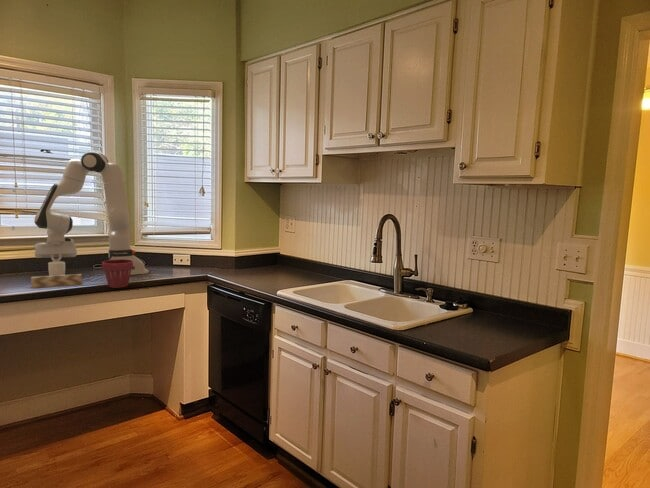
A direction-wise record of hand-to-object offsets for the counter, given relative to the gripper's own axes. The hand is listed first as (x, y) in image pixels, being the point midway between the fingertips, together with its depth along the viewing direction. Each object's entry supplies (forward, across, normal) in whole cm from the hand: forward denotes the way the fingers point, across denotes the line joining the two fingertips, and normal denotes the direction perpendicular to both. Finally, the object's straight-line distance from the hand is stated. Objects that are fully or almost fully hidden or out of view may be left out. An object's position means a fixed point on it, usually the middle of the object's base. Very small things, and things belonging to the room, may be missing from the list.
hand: (56, 262), depth 256 cm
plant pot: (+32, +28, -21) cm, 48 cm away
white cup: (+15, 0, -3) cm, 16 cm away
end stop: (+23, +1, -12) cm, 26 cm away
